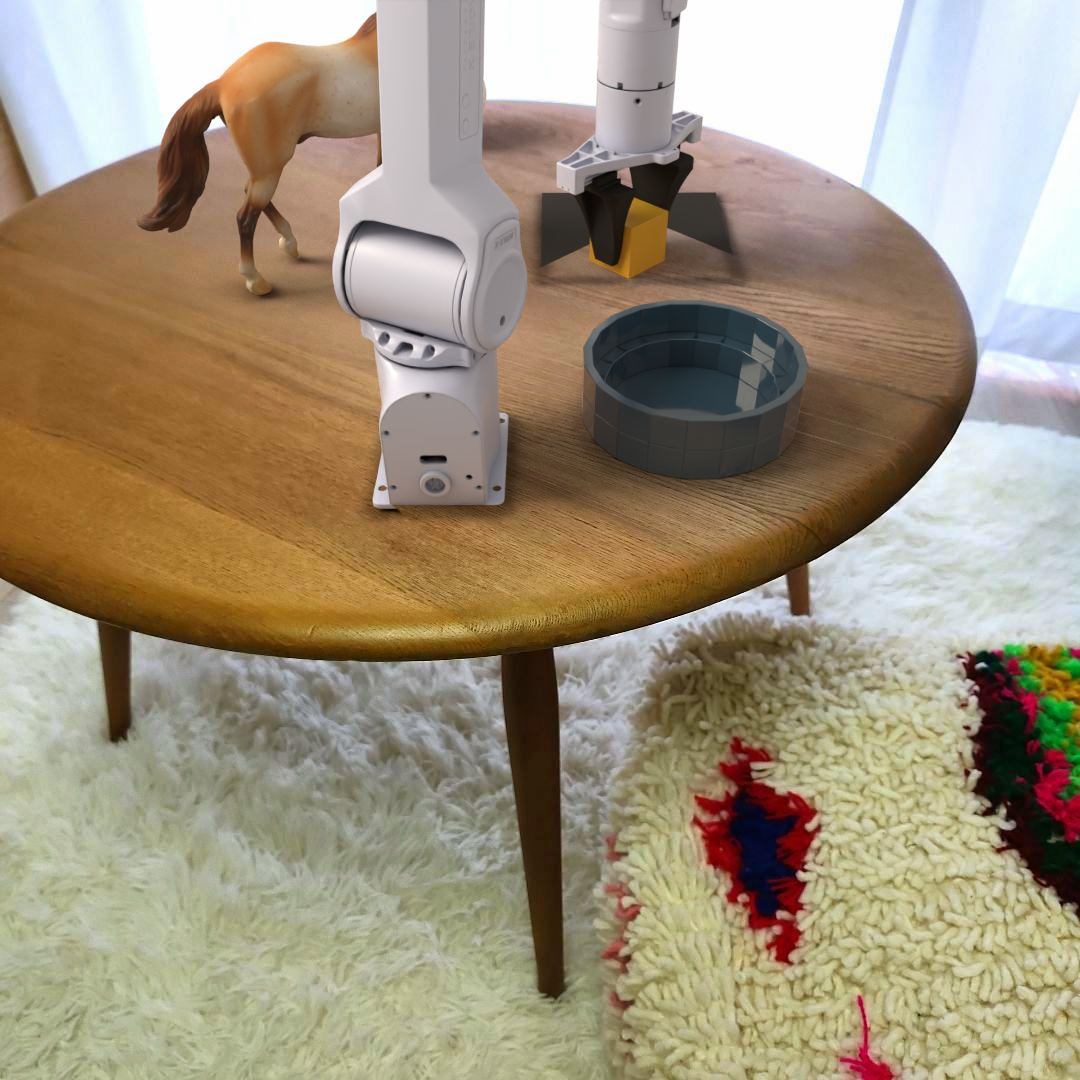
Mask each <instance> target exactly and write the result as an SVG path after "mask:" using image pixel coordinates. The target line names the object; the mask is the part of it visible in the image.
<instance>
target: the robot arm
mask: <svg viewBox="0 0 1080 1080" xmlns="http://www.w3.org/2000/svg"><path fill="white" fill-rule="evenodd" d="M688 1H689V0H598V27H597V29H598V31H597V60H596V61H597V62H596V63H597V64H596V65H597V66H596V94H595V95H596V96H595V97H596V98H595V99H596V100H595V127H594V129H595V131H594V132H595V133H594V134H592V135H591V136H590V137H589V138H588V139H587V140H585V142H584V143H582V144H581V145H580V146H579V147H578V148H577V149H576V150H574V152H572V153H571V154H570V155H568V156H567V157H565V158H563V159H562V160H560V161H557V162H556V188H557V189H559V190H562V191H563V192H565V193H571V194H573V195H574V197H575V199H576V201H577V202H578V204H579V206H580V209H581V211H582V213H583V216H584V219H585V221H586V225H587V228H588V231H589V235H590V239H591V243H592V248H593V252H594V257H595V259H596V260H599V261H601V262H603V263H605V264H607V265H610V266H615V265H617V264H618V262H619V259H620V255H621V251H622V244H623V235H624V227H625V223H626V219H627V215H628V212H629V209H630V206H631V204H632V201H633V199H634V198H637V199H639V200H642V201H644V202H647V203H649V204H652V205H654V206H657V207H659V208H662V209H664V210H667V211H668V214H669V212H670V209H671V206H672V204H673V202H674V199H675V197H676V195H677V193H679V192H680V189H681V188H682V186H683V184H684V183H685V181H686V180H687V178H688V177H689V175H690V174H691V172H692V171H693V170H694V164H695V163H694V162H695V158H694V156H693V155H691V154H689V153H687V152H684V151H681V145H682V144H685V143H686V142H687V143H688V144H695V143H697V142H700V141H701V140H702V131H703V129H702V128H703V120H704V116H703V115H699V114H696V113H694V112H691V111H688V110H686V109H685V110H684V109H683V110H681V111H678V112H675V113H673V112H674V101H675V90H676V89H675V87H676V78H677V77H676V75H677V62H678V52H679V38H680V27H681V26H680V25H681V15H682V14H681V13H682V12H684V11H685V10H686V9H687V7H688ZM375 7H376V11H375V12H376V13H377V40H378V67H379V93H380V120H381V146H382V164H381V165H380V166H379V167H377V166H376V168H374V169H373V170H372V171H370V172H369V173H367V174H366V175H365V176H363V177H361V178H360V179H359V180H357V181H356V182H355V183H354V184H353V185H352V186H351V187H350V188H349V189H348V190H347V191H346V192H345V193H344V194H343V195H342V196H341V197H340V199H339V201H338V204H339V205H338V208H339V228H338V229H339V231H338V237H337V242H336V245H335V249H334V253H333V258H332V268H331V272H332V283H333V288H334V293H335V296H336V299H337V301H338V303H339V305H340V307H341V309H342V310H343V311H344V312H345V313H346V314H347V315H349V316H350V317H354V318H356V319H359V324H360V325H359V326H360V331H361V332H360V333H361V336H362V338H365V339H366V340H369V341H371V342H372V343H373V351H374V358H375V366H376V373H377V381H378V388H379V394H380V395H379V396H380V402H381V409H380V414H379V421H378V427H379V428H378V434H379V439H380V448H381V455H380V460H379V465H378V470H377V471H378V472H377V474H376V475H377V476H376V480H375V484H374V485H375V486H374V490H373V495H372V504H373V507H374V508H376V509H381V510H382V509H383V510H397V507H395V506H498V505H501V504H503V503H504V502H505V497H506V481H507V479H506V477H507V458H508V457H507V456H508V441H509V440H508V438H509V420H510V419H509V415H508V414H507V413H505V412H500V393H499V392H500V391H499V369H498V365H499V364H498V349H499V348H500V347H501V346H502V345H503V344H504V343H505V342H506V341H507V340H508V339H509V338H510V337H511V336H512V334H513V333H514V331H515V329H517V326H518V324H519V321H520V320H521V317H522V313H523V310H524V307H525V304H526V299H527V292H528V270H527V265H526V261H525V259H524V255H523V251H522V241H521V225H520V220H521V219H520V217H521V214H520V211H519V209H518V207H517V206H516V205H515V204H514V202H513V201H512V200H511V198H510V197H509V196H508V195H507V194H506V193H505V192H504V191H503V189H502V188H501V187H500V186H499V185H498V183H497V182H495V180H494V179H493V178H492V177H491V175H490V174H489V173H488V172H487V170H486V169H485V168H484V165H483V128H484V127H483V126H484V110H483V80H484V71H485V70H484V69H485V22H486V21H485V20H486V18H485V14H486V13H485V12H486V0H375ZM625 169H629V174H630V178H631V179H630V180H631V186H632V187H631V186H628V185H626V184H623V183H622V178H621V177H618V173H619V172H620V171H622V170H625ZM501 420H503V421H504V422H501ZM381 487H385V488H386V489H384V490H380V488H381ZM495 487H499V488H500V490H494V489H493V488H495Z"/></svg>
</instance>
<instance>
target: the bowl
mask: <svg viewBox="0 0 1080 1080" xmlns="http://www.w3.org/2000/svg"><path fill="white" fill-rule="evenodd" d="M809 368H810V364H809V361H808V359H807V355H806V351H805V349H804V347H803V346H802V344H801V343H800V342H799V340H797V339H796V338H795V337H794V335H792V334H791V333H790V331H789V330H788V329H787V328H785V327H784V326H782V325H780V324H779V323H777V322H775V321H773V320H772V319H770V318H769V317H766V316H765V315H763V314H760V313H757V312H755V311H751V310H748V309H745V308H742V307H740V306H737V305H733V304H729V303H728V304H727V303H721V302H715V301H709V300H708V301H707V300H703V299H701V300H700V299H668V300H667V299H666V300H659V301H655V302H649V303H643V304H638V305H634V306H631V307H629V308H627V309H624V310H622V311H618V312H617V313H613V314H612V315H610V316H609V317H608V318H606V319H605V320H603V321H602V322H600V323H599V324H598V325H597V326H595V327H594V328H593V329H592V330H591V332H590V334H589V336H588V337H587V340H586V341H585V343H584V345H583V347H582V378H581V414H582V415H581V417H582V418H581V419H582V422H583V424H584V426H585V428H586V429H587V431H588V433H589V435H590V436H591V438H592V440H593V441H594V442H595V444H597V445H598V446H599V447H601V448H602V449H604V450H605V451H606V452H607V453H608V454H610V455H611V456H612V457H613V458H615V459H617V460H619V461H621V462H623V463H625V464H628V465H630V466H633V467H635V468H637V469H638V470H639V469H640V470H641V471H644V472H648V473H652V474H656V475H662V476H666V477H671V478H675V479H676V478H677V479H682V480H684V479H685V480H686V479H687V480H694V479H695V480H697V479H698V480H700V479H701V480H702V479H703V480H707V479H708V480H717V479H722V478H727V477H732V476H736V475H740V474H747V473H750V472H753V471H755V470H757V469H759V468H761V467H763V466H765V465H767V464H769V463H770V462H773V461H776V460H777V459H778V458H779V457H780V455H782V454H783V452H784V451H785V450H786V449H787V448H788V447H789V446H790V445H791V444H792V443H793V441H794V440H795V439H794V438H795V435H796V431H797V426H798V423H799V418H800V412H801V407H802V402H803V397H804V393H805V388H806V382H807V377H808V373H809Z"/></svg>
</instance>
